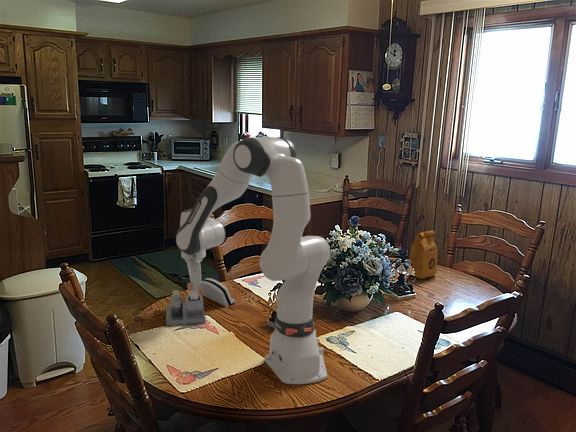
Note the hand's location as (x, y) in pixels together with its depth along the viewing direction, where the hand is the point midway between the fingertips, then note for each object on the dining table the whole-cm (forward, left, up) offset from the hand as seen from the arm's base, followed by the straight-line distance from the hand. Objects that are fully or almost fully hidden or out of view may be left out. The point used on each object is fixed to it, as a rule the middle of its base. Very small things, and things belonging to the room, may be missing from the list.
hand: (194, 287), depth 182 cm
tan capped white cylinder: (0, 0, -10) cm, 9 cm away
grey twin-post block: (+2, +4, -12) cm, 12 cm away
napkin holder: (+14, -9, -12) cm, 20 cm away
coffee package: (+23, -108, -12) cm, 111 cm away
